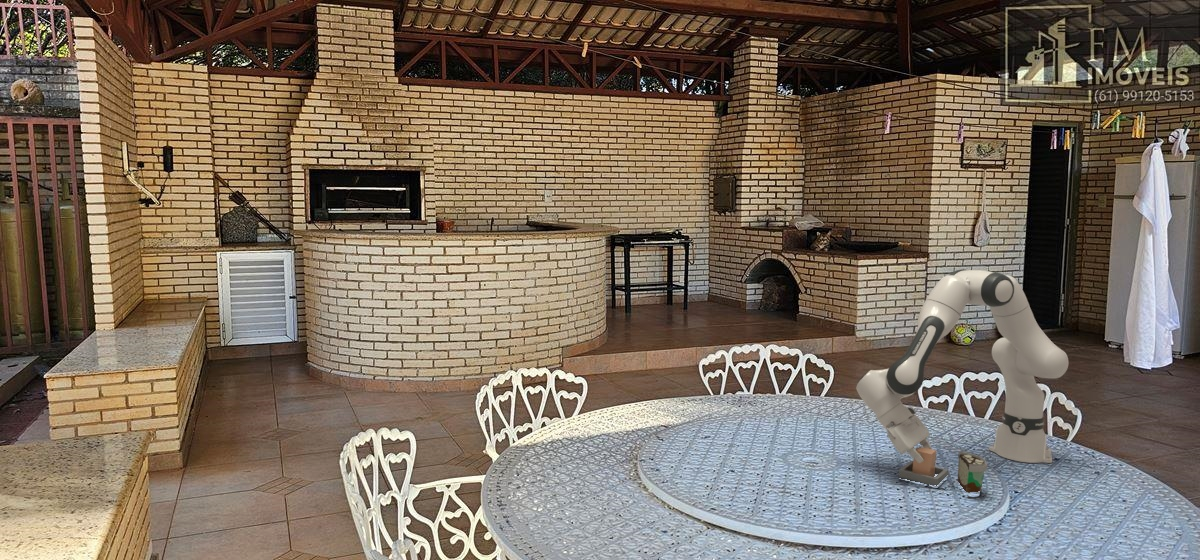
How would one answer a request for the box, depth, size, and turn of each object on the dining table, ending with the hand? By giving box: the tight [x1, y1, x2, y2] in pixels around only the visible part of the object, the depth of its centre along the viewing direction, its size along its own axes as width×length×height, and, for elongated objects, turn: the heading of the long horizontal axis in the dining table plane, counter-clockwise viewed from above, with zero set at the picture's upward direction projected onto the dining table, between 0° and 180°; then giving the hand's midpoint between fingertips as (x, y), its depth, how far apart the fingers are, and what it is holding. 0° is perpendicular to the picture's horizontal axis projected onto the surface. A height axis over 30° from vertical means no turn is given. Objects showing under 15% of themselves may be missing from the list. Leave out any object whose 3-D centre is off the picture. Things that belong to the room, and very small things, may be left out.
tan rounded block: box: [912, 446, 937, 477], centre depth 230 cm, size 5×5×8 cm
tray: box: [897, 460, 949, 486], centre depth 230 cm, size 11×11×3 cm
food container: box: [957, 451, 988, 493], centre depth 221 cm, size 12×6×10 cm, turn 168°
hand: (927, 457), depth 229 cm, fingers open, 8 cm apart
